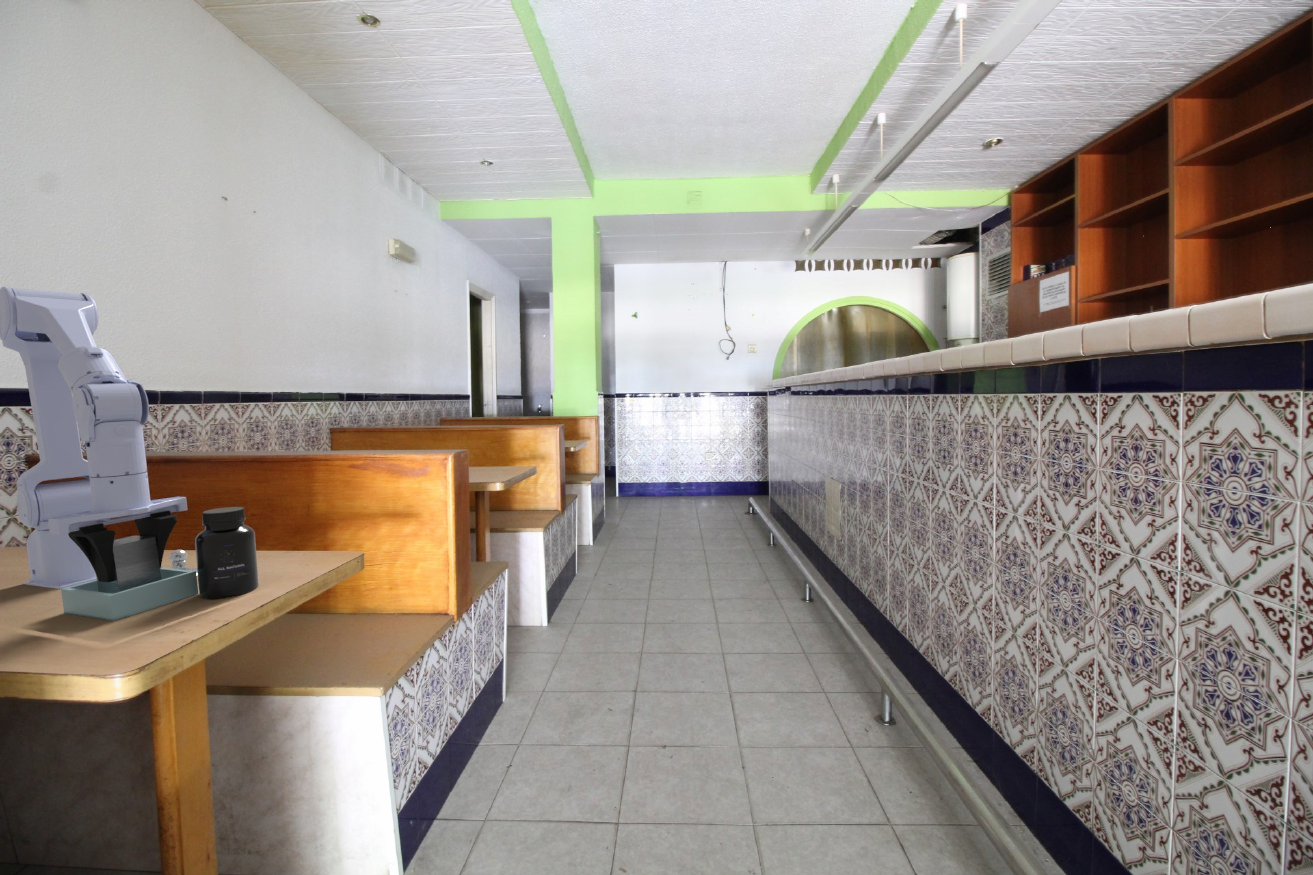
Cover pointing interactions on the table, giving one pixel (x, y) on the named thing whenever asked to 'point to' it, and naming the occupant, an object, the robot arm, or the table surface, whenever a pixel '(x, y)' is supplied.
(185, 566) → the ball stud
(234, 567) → the supplement bottle
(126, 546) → the block
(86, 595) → the bin
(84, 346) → the robot arm
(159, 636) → the table surface
